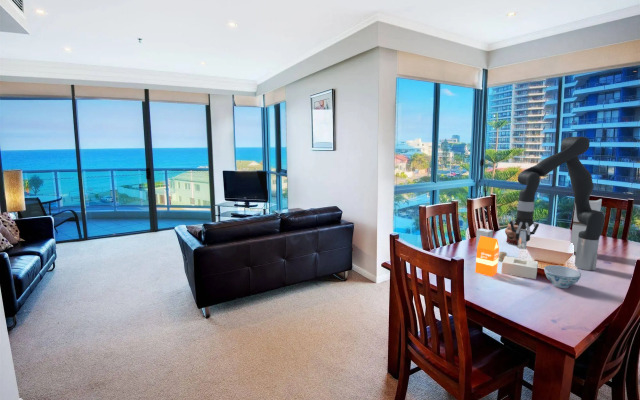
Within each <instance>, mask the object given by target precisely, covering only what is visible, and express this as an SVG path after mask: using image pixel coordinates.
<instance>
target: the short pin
mask: <svg viewBox="0 0 640 400" xmlns="http://www.w3.org/2000/svg"><path fill="white" fill-rule="evenodd" d="M507 254H508V253H507V252H505V251H499V255H498V262H500V263H502V262H503V260H504V257H505V256H507Z"/></svg>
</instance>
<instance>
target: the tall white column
mask: <svg viewBox="0 0 640 400" xmlns="http://www.w3.org/2000/svg"><path fill="white" fill-rule="evenodd" d="M602 201H603V199H602V198H599V199H597V200H589V203H590V207H591V209H592V210H596V211H600V212H601V208H602ZM586 227H587V225H584V224H581V223H580V222H579V221H578V219H577V213H576V203H575V204H574V212H573V220H572V229H571V235H570V243H573V245H574V255H573V256H576V250H577V242H578V235H579V232H580V231H585V230H586Z"/></svg>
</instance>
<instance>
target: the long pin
mask: <svg viewBox="0 0 640 400" xmlns="http://www.w3.org/2000/svg"><path fill="white" fill-rule="evenodd" d="M527 234H528V233H527V229H526V230H525V229H520V230H519V238H518V245H517V249H519V250H526V249H527V243H528V242H527Z"/></svg>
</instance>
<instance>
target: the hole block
mask: <svg viewBox="0 0 640 400" xmlns="http://www.w3.org/2000/svg"><path fill="white" fill-rule="evenodd" d="M501 263H502V264H501V271H500V272H501V274H506V275H510V276H511V275H512V276H517V277H521V278H527V279H533V280H536V279H537V273H538V265H539V261H536V260H531V259H525V258H518V257H513V256H505V257H504V260H503V262H501Z"/></svg>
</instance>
